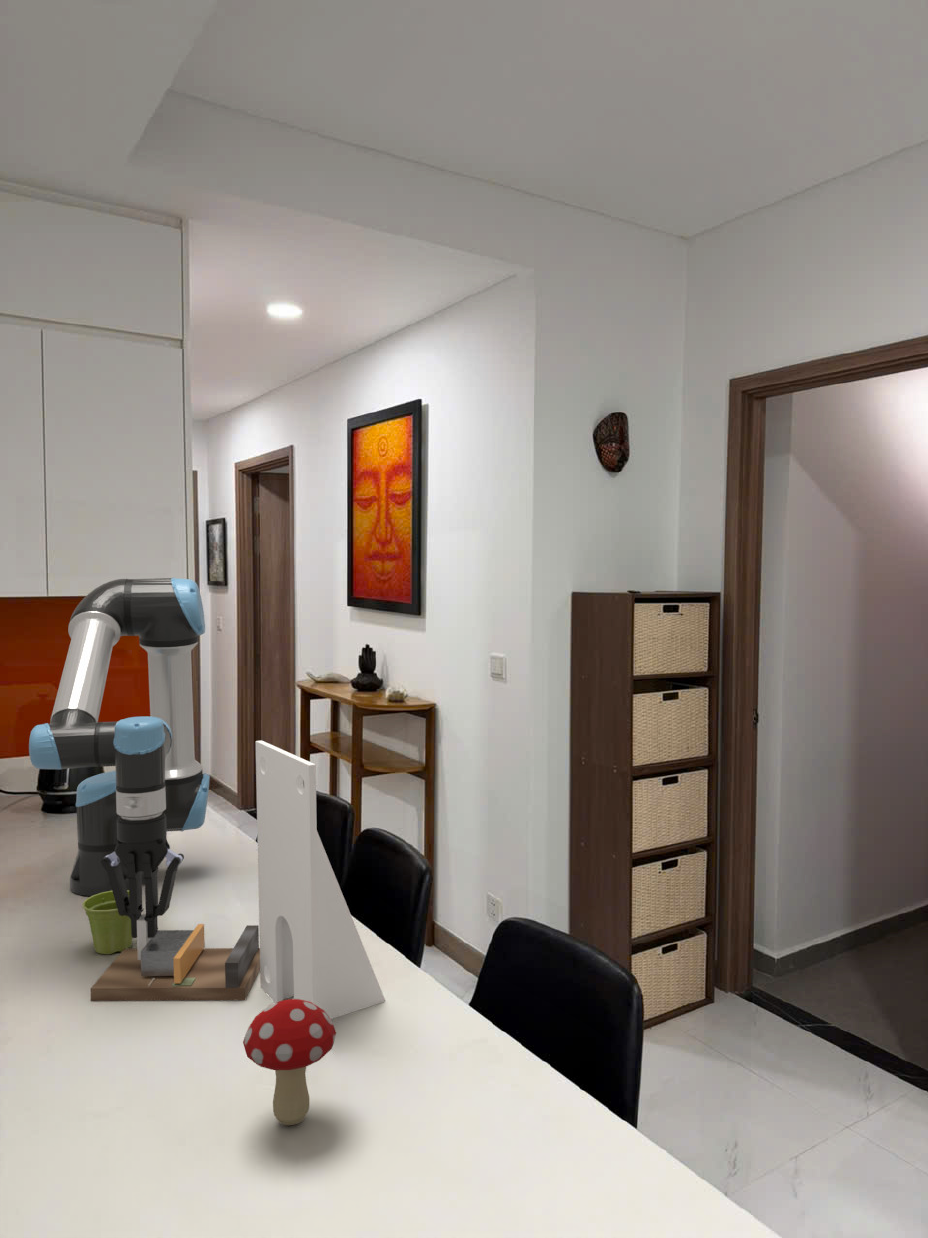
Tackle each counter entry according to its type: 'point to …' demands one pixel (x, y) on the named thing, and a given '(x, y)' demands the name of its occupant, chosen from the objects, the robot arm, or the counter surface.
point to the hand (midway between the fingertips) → (145, 956)
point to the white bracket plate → (303, 897)
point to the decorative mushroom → (289, 1051)
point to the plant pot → (107, 924)
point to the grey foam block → (162, 952)
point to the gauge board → (206, 979)
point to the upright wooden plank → (188, 953)
